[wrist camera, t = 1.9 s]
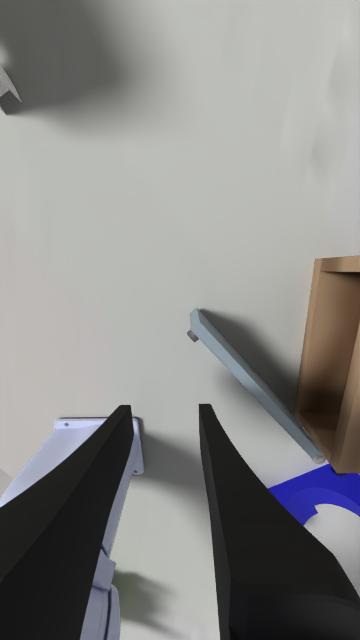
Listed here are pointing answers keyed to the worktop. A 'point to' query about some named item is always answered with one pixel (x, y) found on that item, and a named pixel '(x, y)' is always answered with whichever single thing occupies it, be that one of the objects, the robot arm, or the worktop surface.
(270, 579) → the robot arm
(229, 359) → the door
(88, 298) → the worktop surface
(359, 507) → the cable clip
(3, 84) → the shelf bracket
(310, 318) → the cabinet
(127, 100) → the worktop surface
